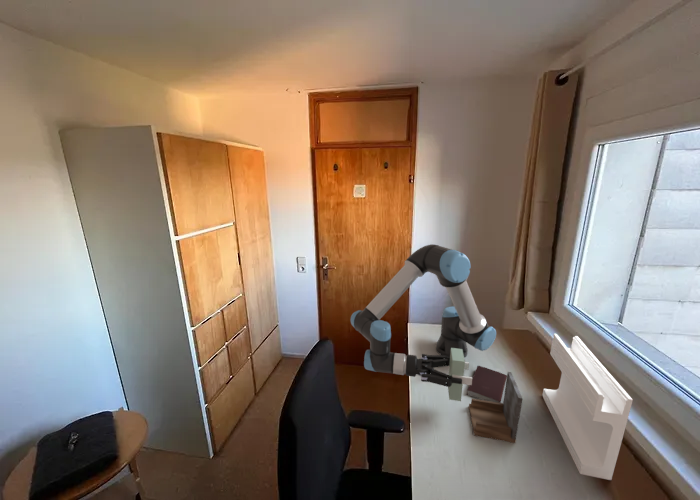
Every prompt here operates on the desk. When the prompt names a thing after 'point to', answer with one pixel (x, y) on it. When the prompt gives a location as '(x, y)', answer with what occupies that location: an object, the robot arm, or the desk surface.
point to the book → (487, 384)
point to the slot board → (498, 414)
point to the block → (588, 408)
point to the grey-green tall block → (456, 373)
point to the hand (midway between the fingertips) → (470, 373)
